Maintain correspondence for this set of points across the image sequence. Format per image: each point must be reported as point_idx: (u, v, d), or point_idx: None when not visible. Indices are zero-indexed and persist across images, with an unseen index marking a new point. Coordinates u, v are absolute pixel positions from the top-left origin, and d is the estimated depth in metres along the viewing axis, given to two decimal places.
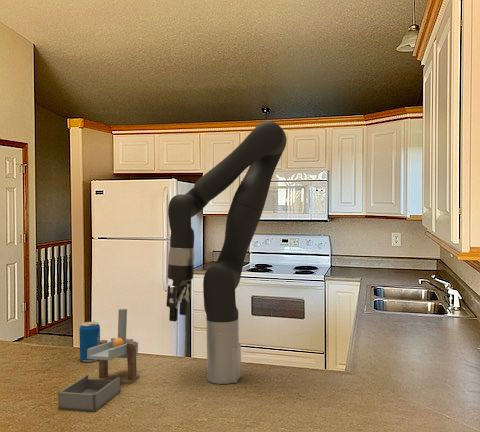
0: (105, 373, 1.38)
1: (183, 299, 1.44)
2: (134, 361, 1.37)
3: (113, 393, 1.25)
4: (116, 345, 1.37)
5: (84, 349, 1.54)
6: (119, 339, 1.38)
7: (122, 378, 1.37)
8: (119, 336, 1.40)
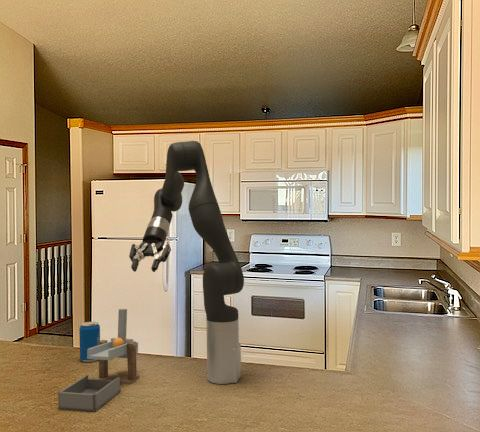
0: (105, 373, 1.38)
1: None
2: (134, 361, 1.37)
3: (113, 393, 1.25)
4: (116, 345, 1.37)
5: (84, 349, 1.54)
6: (119, 339, 1.38)
7: (122, 378, 1.37)
8: (119, 336, 1.40)
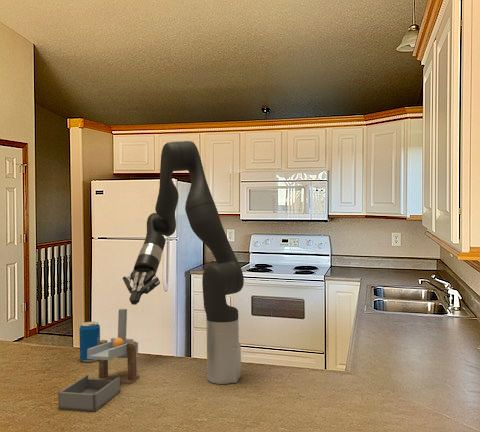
0: (105, 373, 1.38)
1: None
2: (134, 361, 1.37)
3: (113, 393, 1.25)
4: (116, 345, 1.37)
5: (84, 349, 1.54)
6: (119, 339, 1.38)
7: (122, 378, 1.37)
8: (119, 336, 1.40)
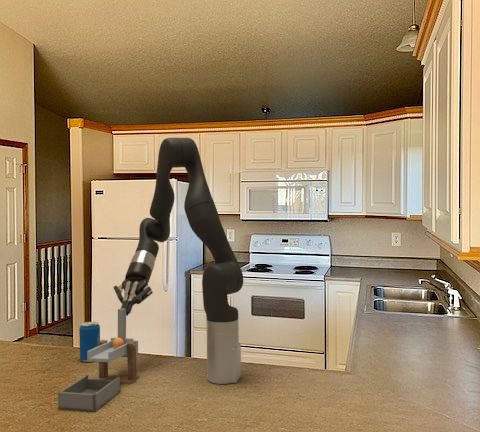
0: (105, 373, 1.38)
1: None
2: (134, 361, 1.37)
3: (113, 393, 1.25)
4: (116, 345, 1.37)
5: (84, 349, 1.54)
6: (119, 339, 1.38)
7: (122, 378, 1.37)
8: (119, 336, 1.40)
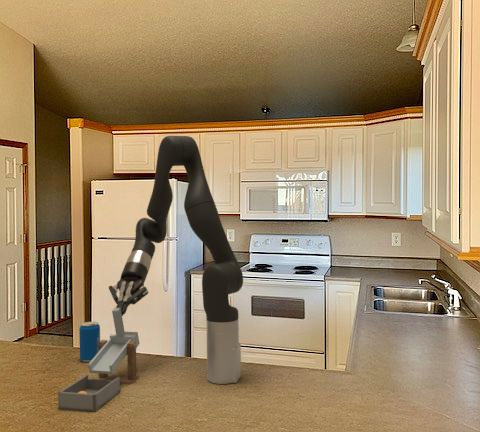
0: None
1: None
2: (134, 361, 1.37)
3: (113, 393, 1.25)
4: None
5: (84, 349, 1.54)
6: None
7: (122, 378, 1.37)
8: (117, 334, 1.39)
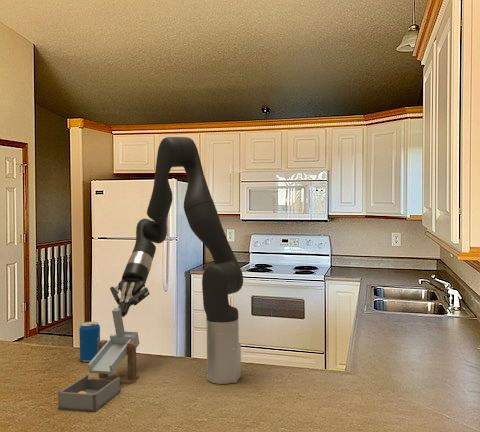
0: None
1: None
2: (134, 361, 1.37)
3: (113, 393, 1.25)
4: None
5: (84, 349, 1.54)
6: None
7: (122, 378, 1.37)
8: (117, 334, 1.39)
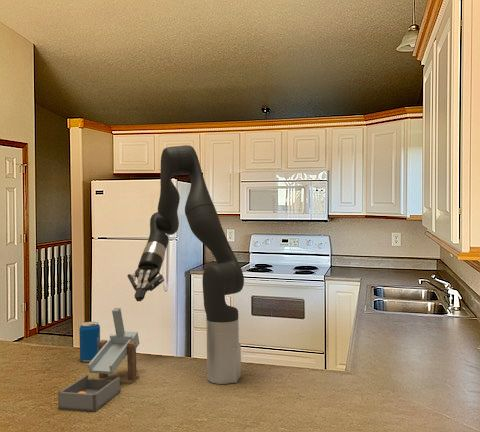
0: None
1: None
2: (134, 361, 1.37)
3: (113, 393, 1.25)
4: None
5: (84, 349, 1.54)
6: None
7: (122, 378, 1.37)
8: (117, 334, 1.39)
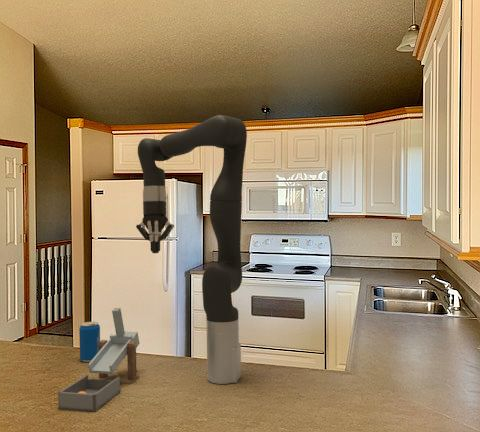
0: None
1: None
2: (134, 361, 1.37)
3: (113, 393, 1.25)
4: None
5: (84, 349, 1.54)
6: None
7: (122, 378, 1.37)
8: (117, 334, 1.39)
